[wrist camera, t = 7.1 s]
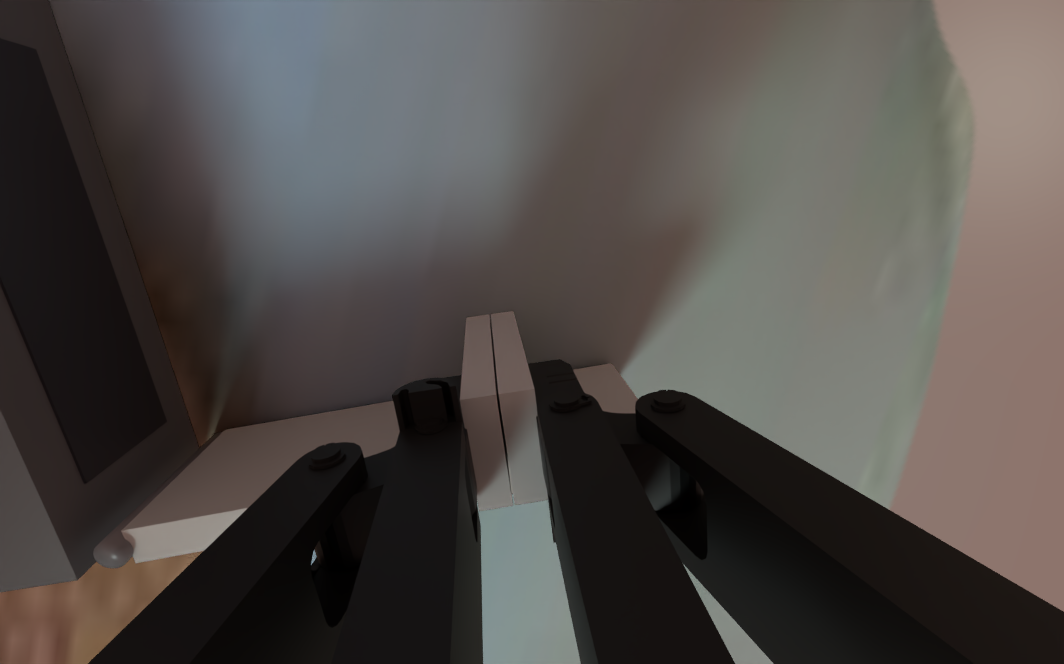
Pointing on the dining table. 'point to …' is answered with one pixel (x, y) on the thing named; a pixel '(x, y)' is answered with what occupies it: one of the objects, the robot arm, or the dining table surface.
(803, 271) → the dining table surface
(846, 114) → the dining table surface
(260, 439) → the side door
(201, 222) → the dining table surface
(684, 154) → the dining table surface
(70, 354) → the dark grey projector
